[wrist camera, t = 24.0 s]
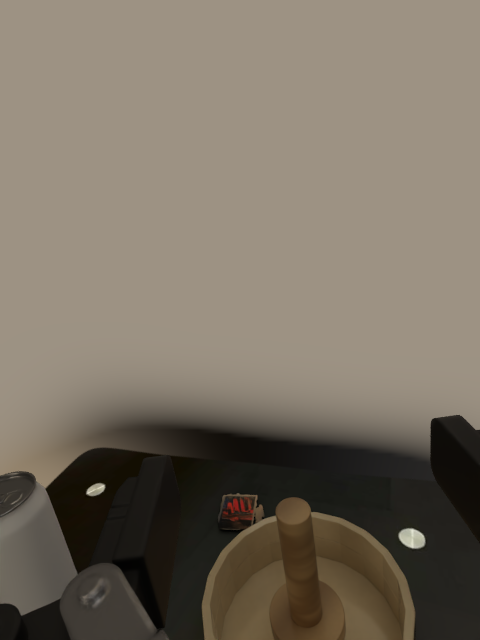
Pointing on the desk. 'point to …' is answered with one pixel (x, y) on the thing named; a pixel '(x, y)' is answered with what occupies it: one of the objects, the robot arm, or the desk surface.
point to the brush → (303, 582)
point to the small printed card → (239, 512)
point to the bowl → (333, 569)
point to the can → (30, 545)
